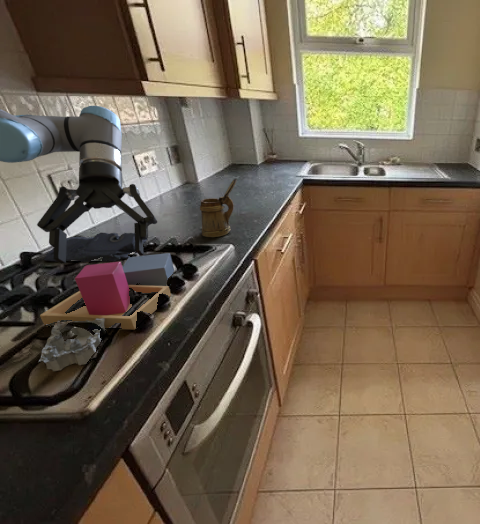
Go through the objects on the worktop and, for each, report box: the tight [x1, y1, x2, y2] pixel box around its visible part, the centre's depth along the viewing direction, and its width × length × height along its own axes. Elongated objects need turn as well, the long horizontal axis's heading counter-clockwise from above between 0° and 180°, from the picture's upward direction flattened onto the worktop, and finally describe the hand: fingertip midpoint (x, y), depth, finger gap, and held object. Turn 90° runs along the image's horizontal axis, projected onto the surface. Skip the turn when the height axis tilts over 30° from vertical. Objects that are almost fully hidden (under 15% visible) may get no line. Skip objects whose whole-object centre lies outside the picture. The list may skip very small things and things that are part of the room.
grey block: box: [122, 252, 175, 286], centre depth 80 cm, size 9×9×5 cm
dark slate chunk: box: [43, 232, 149, 263], centre depth 95 cm, size 15×22×5 cm
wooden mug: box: [199, 178, 238, 238], centre depth 109 cm, size 9×14×18 cm, turn 110°
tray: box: [39, 285, 172, 331], centre depth 69 cm, size 18×13×3 cm
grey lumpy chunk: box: [38, 318, 107, 372], centre depth 58 cm, size 11×8×4 cm
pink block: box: [74, 261, 130, 315], centre depth 68 cm, size 6×6×9 cm
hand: (101, 257), depth 68 cm, fingers open, 13 cm apart
